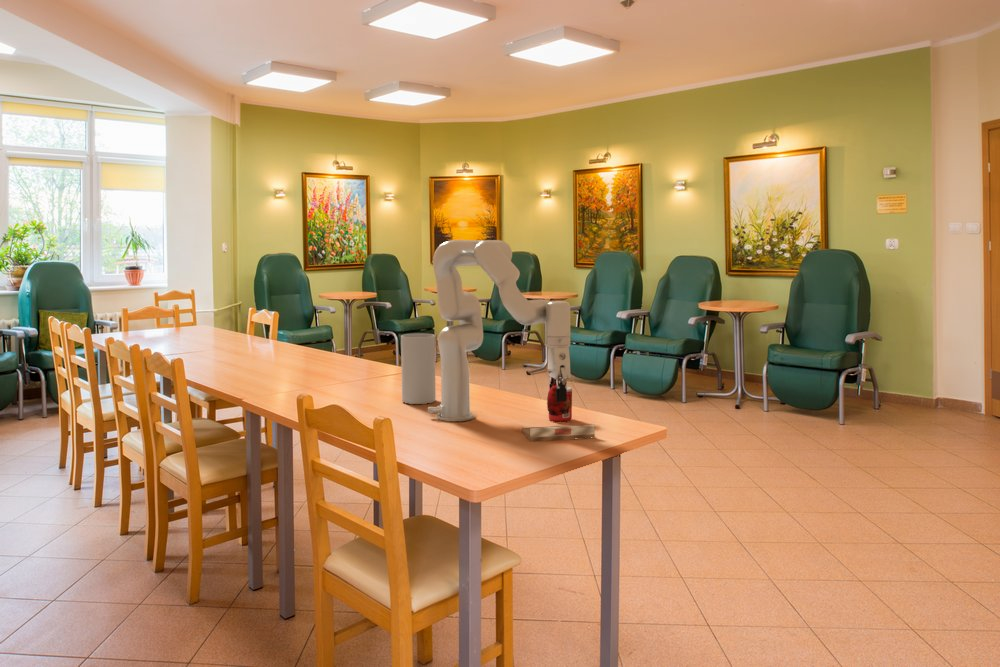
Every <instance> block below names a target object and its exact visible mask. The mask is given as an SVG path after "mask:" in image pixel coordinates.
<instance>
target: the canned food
mask: <svg viewBox="0 0 1000 667" xmlns="http://www.w3.org/2000/svg"><path fill="white" fill-rule="evenodd" d="M567 393H568V396H569V401H570V408H569V412H568V413H566V414H562V415H556V414H551V413H550V412H549V411H548V420H549V421H550V422H551V421H553V422H552V423H556V422H565V423H569V422H571V421H572V417H573V414H572V412H573V410H572V409H573V387H571V386H567ZM570 420H571V421H570ZM568 421H569V422H568Z"/></svg>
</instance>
